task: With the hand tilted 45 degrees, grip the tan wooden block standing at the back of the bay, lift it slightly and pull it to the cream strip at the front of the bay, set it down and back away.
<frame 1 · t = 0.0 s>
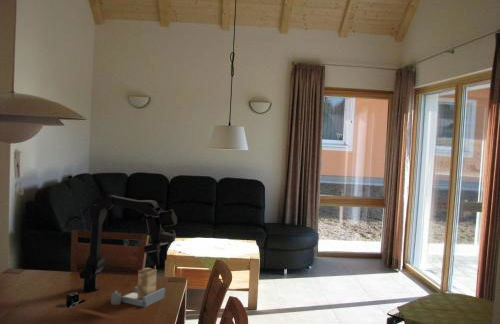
hand: (161, 262, 202), 15 cm above the table, tool pointing down, fingers open, 9 cm apart
tan wooden block: (146, 299, 195), point 1 cm above the table, touching bay
bay: (140, 301, 197), on the table
black chunky block: (72, 304, 191), on the table
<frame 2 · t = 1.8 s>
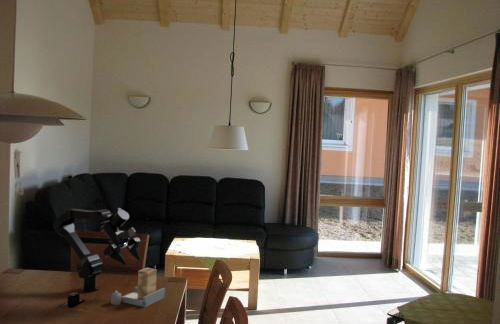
hand: (132, 261, 198), 17 cm above the table, tool tilted 45°, fingers open, 9 cm apart
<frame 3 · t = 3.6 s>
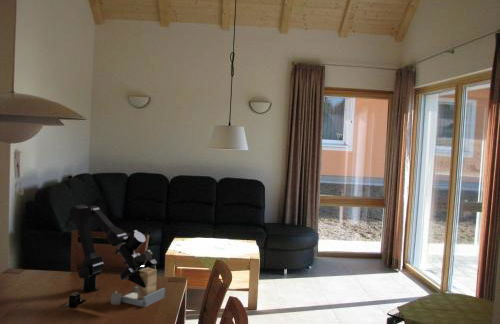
hand: (149, 285, 194), 8 cm above the table, tool tilted 45°, fingers closed on tan wooden block, 6 cm apart
tan wooden block: (146, 299, 195), point 1 cm above the table, touching bay, gripper
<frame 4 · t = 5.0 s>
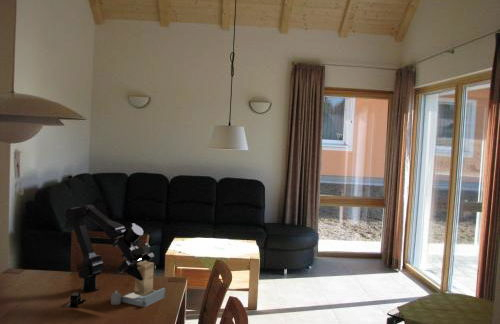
hand: (146, 278, 195), 11 cm above the table, tool tilted 45°, fingers closed on tan wooden block, 6 cm apart
tan wooden block: (143, 293, 196), point 4 cm above the table, touching gripper
when the fingers open (9 cm above the table, at t = 6.5 s): tan wooden block stays where it is, resting on bay.
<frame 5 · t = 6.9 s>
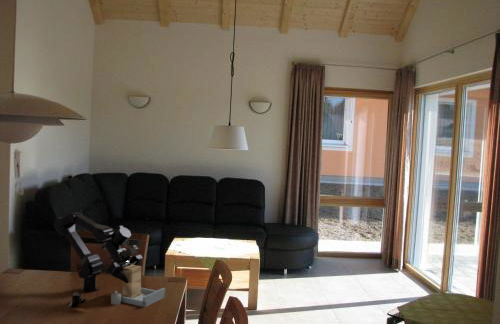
hand: (134, 279, 198), 9 cm above the table, tool tilted 45°, fingers open, 9 cm apart
tan wooden block: (131, 296, 199), point 1 cm above the table, touching bay
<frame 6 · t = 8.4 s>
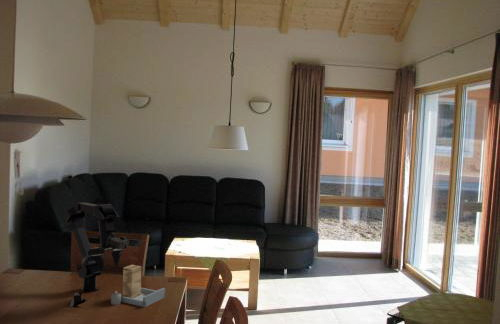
hand: (109, 268, 199), 13 cm above the table, tool pointing down, fingers open, 9 cm apart
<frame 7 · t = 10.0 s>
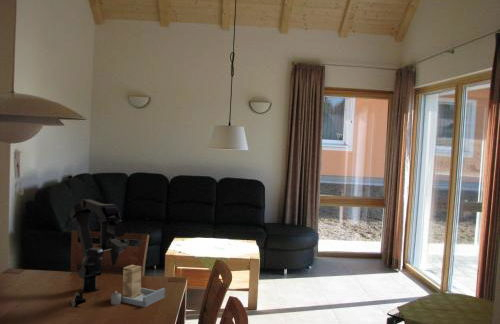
hand: (106, 268, 199), 13 cm above the table, tool pointing down, fingers open, 9 cm apart
at the end: tan wooden block 0.1 cm from the target spot on the bay, point 1.3 cm above the bay's base; tan wooden block tilted 0°; the gripper is holding nothing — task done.
